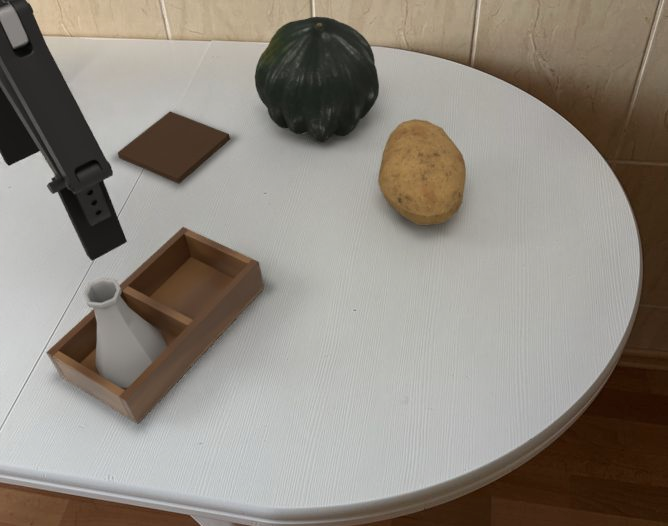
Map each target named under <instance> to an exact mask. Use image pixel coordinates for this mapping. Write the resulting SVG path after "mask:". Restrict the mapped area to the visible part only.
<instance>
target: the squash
mask: <svg viewBox="0 0 668 526" xmlns="http://www.w3.org/2000/svg"><path fill="white" fill-rule="evenodd" d="M375 64H376V63H375V55H374V52H373V49H372V46H371V44H370V43H369V41H368V39H366V37H365V36H364V35H362V34H361V33H360V32H359V31H358V30H357V29H355V28H354V27H352V26H350V25H348V24H347V23H344V22H341V21H339V20H337V19H335V18H330V17H326V16H311V17H308V18H303V19H297V20H293V21H289V22H287V23H285V24H283V25H282V26H281V27H279V28H278V29H277V30H276V31H275V33H274V34H273V35H272V37H271V38H270V41H269V43H268V44H267V47H266V48H265V49H264V51H262V53H261V55H260V56H259V58H258V61H257V64H256V66H255V73H254V84H255V89H256V92H257V94H258V97H259V99H260V101H261V102H262V104H263V105H264V106H265V108H267V112H268V115H269V117H270V119H271V120H272V122H273V123H274V124H275V125H276V126H278V127H280V128H282V129H289V131H291V132H292V133H294V134H295V135H303V134H306V133H307V134H308V135H309V136H310V137H311V138H312V139H313V140H314V141H316V142H319V143H325V142H327V141H328V140H329V139H331V138H332V136H333V135H335V136H338V137H345V136H348V135H349V134H350V133H352V132H353V131H354V129H355V128H357V126H358V124H359V122H360V121H361V119H363V118H365V117H366V115H368V113H369V112H370V111H371V109H372V108H373V106H374V105H375V103H376V102H377V99H378V97H379V91H380V83H379V82H380V81H379V75H378V71H377V67H376V65H375Z"/></svg>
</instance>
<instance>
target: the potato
mask: <svg viewBox="0 0 668 526" xmlns="http://www.w3.org/2000/svg"><path fill="white" fill-rule="evenodd" d="M381 156H382V157H381V161H380V166H379V167H380V168H379V172H378V179H377V183H378V186H379V188H380V192H381V194H382V195H383V197H384V199H385V200H386V202H387V205H389V206H390V207H391V208H393V209H394V210H395V211H397V212H398V214H400V215H401V216H402V217H404V218H405V219H407V220H409V221H410V222H412V223H413V224H415V225H417V226H423V225H424V226H431V225H438V224H440V225H441V224H443V223H445V222H446V221H448V220H449V219H450V218H452V217H453V216H454V215H455V214H457V213H458V211H459V210H460V208H461V205H462V203H463V200H464V193H465V187H466V186H465V185H466V180H467V179H466V177H467V168H466V161H465V159H464V155H463V154H462V152H461V150H460V149H459V148H458V147H457V145H456V144H455V143H454V141H453V140H452V139H451V137H449V135H448V134H447V133H446V131H445V129H444V128H443V127H441V126H439V125H436V124H435V123H432V122H430V121H428V120H424V119H415V118H414V119H409V120H406V121H403V122H401V123H399V124H398V125H397V126H396V127H395V129H394V130H393V131H392V132H391V133H390V134H389V136H388V138H387V141H386V144H385V146H384V148H383V151H382V155H381Z"/></svg>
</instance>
